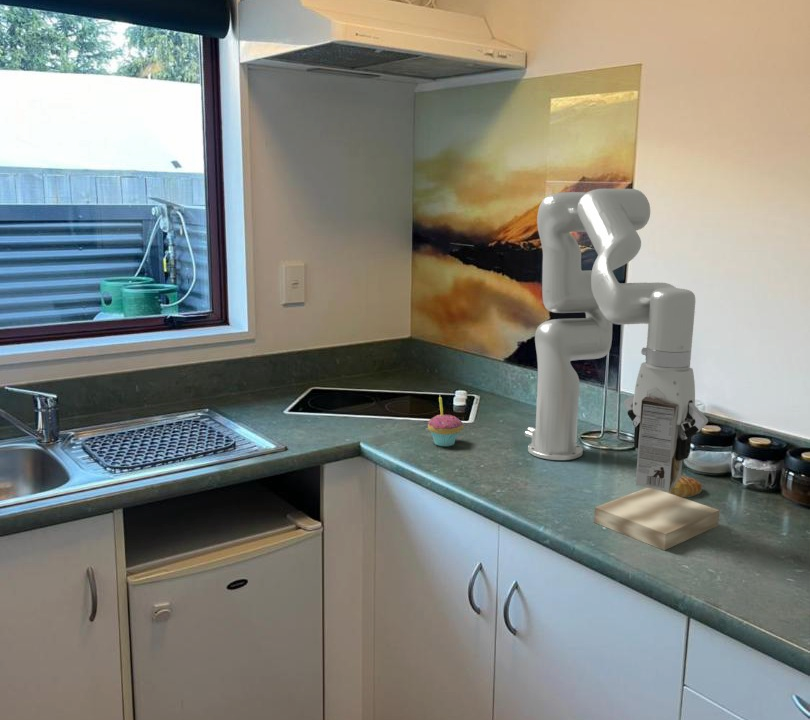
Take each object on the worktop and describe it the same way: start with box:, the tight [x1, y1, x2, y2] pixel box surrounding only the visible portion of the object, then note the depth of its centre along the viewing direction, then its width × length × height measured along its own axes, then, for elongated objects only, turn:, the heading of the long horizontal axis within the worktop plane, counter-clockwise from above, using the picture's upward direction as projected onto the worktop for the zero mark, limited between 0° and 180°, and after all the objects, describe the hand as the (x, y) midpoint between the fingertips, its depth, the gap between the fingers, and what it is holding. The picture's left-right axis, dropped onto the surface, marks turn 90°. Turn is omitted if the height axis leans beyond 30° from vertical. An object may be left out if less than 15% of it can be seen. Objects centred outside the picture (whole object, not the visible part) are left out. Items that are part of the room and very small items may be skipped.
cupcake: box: [427, 393, 464, 447], centre depth 193 cm, size 9×8×12 cm
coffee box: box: [635, 397, 683, 492], centre depth 145 cm, size 9×6×16 cm
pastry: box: [661, 475, 703, 499], centre depth 163 cm, size 9×7×4 cm
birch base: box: [593, 487, 721, 551], centre depth 148 cm, size 15×17×3 cm
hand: (660, 452), depth 145 cm, fingers closed on coffee box, 8 cm apart
